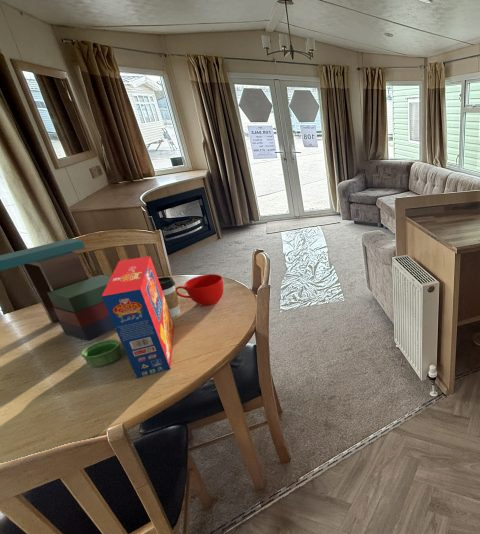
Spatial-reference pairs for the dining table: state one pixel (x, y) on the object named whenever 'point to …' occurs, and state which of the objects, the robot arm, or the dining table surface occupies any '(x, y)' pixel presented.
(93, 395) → the dining table surface
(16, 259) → the teal bar
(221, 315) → the dining table surface
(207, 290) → the ceramic cup
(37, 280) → the walnut shelf
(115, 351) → the ramekin
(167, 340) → the cereal box
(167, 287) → the coffee cup
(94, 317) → the book pile
